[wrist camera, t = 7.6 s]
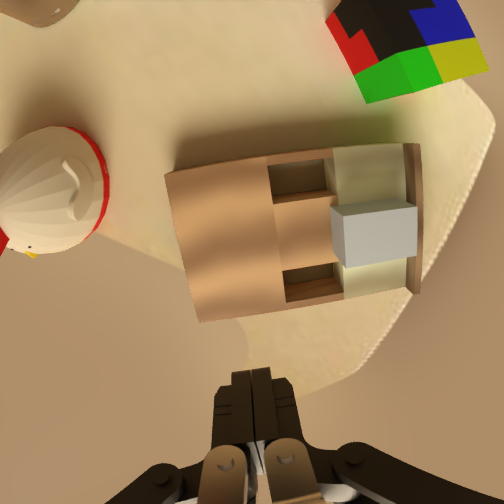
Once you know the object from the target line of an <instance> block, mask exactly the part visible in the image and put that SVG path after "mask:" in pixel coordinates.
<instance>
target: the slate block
mask: <svg viewBox="0 0 504 504" xmlns="http://www.w3.org/2000/svg"><path fill="white" fill-rule="evenodd" d="M330 217H331V229H332V242H333V253H334V254H335V256H336V257H337V258H338V259H339V261H340V262H341V263H342V264H343V266H344V267H345V268H346V269H347V268H352V267H358V266H364V265H369V264H375V263H380V262H386V261H391V260H396V259H402V258H407V257H412V256H417V206H415V205H413V204H410V203H408V202H405V201H403V200H401V199H398V198H393V199H384V200H376V201H368V202H360V203H352V204H344V205H337V206H330Z"/></svg>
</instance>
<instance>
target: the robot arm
mask: <svg viewBox="0 0 504 504" xmlns="http://www.w3.org/2000/svg"><path fill="white" fill-rule="evenodd" d="M78 1H79V0H0V13H3V14H5V15H8V16H10V17H13V18H15V19H17V20H20V21H22V22H24V23H27V24H29V25H31V26H34V27H46V26H49V25H51V24H54V23H55V22H57V21H59V20H60V19H61V18H63V17H64V16H65V15H67V14H68V13H69V12H70V11H71V10H72V9H73V7H74V6H75V5H76V4H77V3H78ZM251 372H252V374H251ZM231 377H232V378H231V380H232V381H231V385H228V386H220V388H219V389H218V391H217V393H216V394H215V396H214V411H213V416H214V417H213V427H212V444H211V450H210V451H209V452H208V454H207V455H206V456H205V458H204V460H203V461H201V462H199V463H197V464H195V465H192V466H188V467H185V468H181V469H178V468H177V467H176V466H174V465H171V464H167V463H161V464H157V465H154V466H152V467H150V468H149V469H148V470H147V471H146V472H144V473H143V474H142V475H140V476H139V477H138V478H137V479H136V480H134V481H133V482H132V483H131V484H129V485H128V486H127V487H126V488H124V489H123V490H122V491H121V492H120V493H118V494H117V495H115V496H114V497H113V498H112V499H110V500H109V501H108V502H106V503H105V504H258V481H257V475H263V474H264V472H263V467H264V471H265V474H267V478H268V484H269V489H270V494H271V499H272V504H326V501H330V502H333V503H334V504H504V500H501V499H498V498H494V497H491V496H488V495H485V494H482V493H479V492H477V491H473V490H471V489H468V488H465V487H462V486H460V485H457V484H455V483H452V482H450V481H447V480H445V479H442V478H439V477H437V476H435V475H432V474H430V473H428V472H425V471H423V470H421V469H418V468H416V467H414V466H412V465H409V464H407V463H405V462H403V461H401V460H399V459H397V458H394V457H392V456H390V455H388V454H386V453H384V452H382V451H380V450H378V449H375V448H374V447H372V446H370V445H368V444H366V443H362V442H351V443H347V444H345V445H343V446H341V447H340V448H339V449H338V450H323V449H317V448H315V447H312V446H311V445H309V444H308V443H307V442H306V441H305V439H304V437H303V434H302V429H301V425H300V420H299V415H298V410H297V406H296V401H295V396H294V391H293V387H292V385H291V383H290V382H289V381H288V380H287V379H286V378H285V377H284V378H278V379H272V377H271V371H270V367H266V368H259V369H252V370H251V371H250V370H245V371H238V372H232V375H231Z"/></svg>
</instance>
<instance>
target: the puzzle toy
mask: <svg viewBox="0 0 504 504" xmlns="http://www.w3.org/2000/svg"><path fill="white" fill-rule="evenodd" d="M325 23H326V24H327V26H328V28H329V30H330V31H331V33H332V35H333V37H334V39H335V40H336V42H337V44H338V46H339V48H340V50H341V52H342V54H343V55H344V57H345V59H346V61H347V63H348V65H349V67H350V69H351V71H352V73H353V75H354V77H355V80H356V82H357V84H358V86H359V88H360V90H361V92H362V95H363V97H364V99H365V101H366V104H369V103H372V102H376V101H380V100H384V99H388V98H392V97H396V96H400V95H405V94H409V93H414V92H417V91H420V90H423V89H426V88H430V87H433V86H436V85H439V84H443V83H446V82H450V81H453V80H457V79H460V78H463V77H467V76H471V75H475V74H478V73H482V72H486V71H489V68H488V65H487V63H486V60H485V58H484V55H483V53H482V51H481V48H480V46H479V44H478V42H477V39H476V37H475V35H474V33H473V31H472V29H471V27H470V25H469V23H468V21H467V19H466V17H465V15H464V13H463V11H462V9H461V7H460V6H459V4H458V2H457V0H342V1H341V2H340V4H339V5H338V6H337V7H336V9H335V10H334V11H333V13H332V14H331V15H330V17H329V18H328V19H327V20H326V22H325Z"/></svg>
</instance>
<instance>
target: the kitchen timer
mask: <svg viewBox="0 0 504 504" xmlns="http://www.w3.org/2000/svg"><path fill="white" fill-rule="evenodd" d="M108 200H109V174H108V170H107V166H106V162H105V159H104V157H103V155H102V153H101V152H100V150H99V148H98V146H97V145H96V144H95V143H94V142H93V141H92V140H91V139H90V138H89V137H88V136H87V135H86V134H85V133H83V132H81V131H79V130H77V129H75V128H73V127H61V126H49V127H45V128H42V129H39V130H36V131H33V132H30V133H28V134H26V135H25V136H23V137H21V138H19V139H18V140H16V141H15V142H14V143H12V144H11V145H10V146H9V147H7V148H6V149H5V150H4V151H3V152H2V153H1V154H0V256H1V254H2V252H3V251H4V249H5V247H8V248H10V249H11V250H15V251H19V252H22V253H26V254H28V255H29V256H31V257H32V258H35V257H36V256H37V255H38V254H43V253H53V252H61V251H64V250H66V249H69V248H71V247H73V246H75V245H77V244H79V243H81V242H82V241H84V240H85V239H86V238H88V237H89V236H90V234H92V233H93V232H94V231H95V230H96V229H97V228H98V226H99V224H100V222H101V220H102V218H103V217H104V215H105V212H106V208H107V204H108Z"/></svg>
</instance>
